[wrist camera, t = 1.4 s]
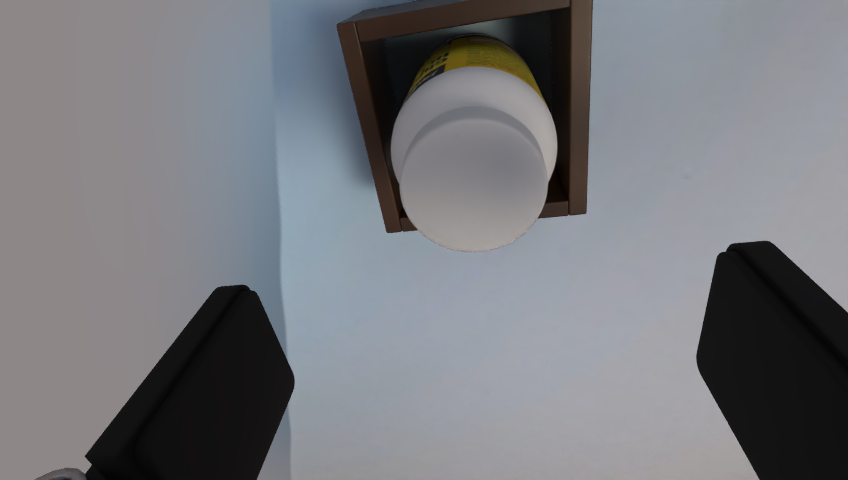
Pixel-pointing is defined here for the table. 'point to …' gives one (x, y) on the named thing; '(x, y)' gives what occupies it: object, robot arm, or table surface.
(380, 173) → the holder
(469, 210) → the pill bottle
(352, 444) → the table surface
